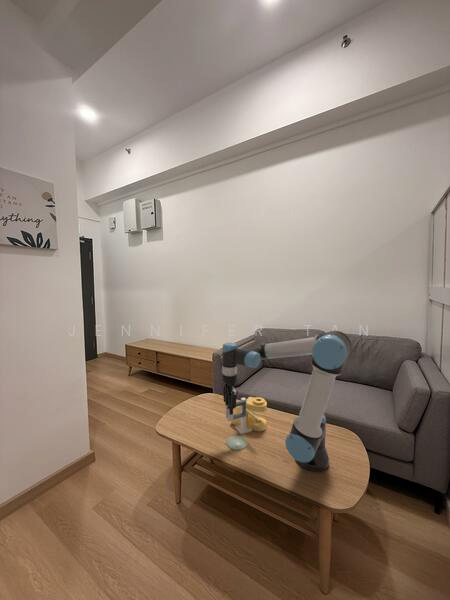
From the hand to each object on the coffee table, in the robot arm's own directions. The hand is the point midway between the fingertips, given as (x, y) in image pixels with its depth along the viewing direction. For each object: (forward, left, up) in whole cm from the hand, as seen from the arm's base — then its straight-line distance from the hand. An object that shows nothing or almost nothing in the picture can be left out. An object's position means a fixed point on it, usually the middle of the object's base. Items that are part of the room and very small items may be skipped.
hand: (229, 418), depth 126 cm
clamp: (+11, -19, -14) cm, 26 cm away
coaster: (0, -4, -14) cm, 15 cm away
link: (0, -4, -1) cm, 4 cm away
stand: (+3, -13, -14) cm, 20 cm away
